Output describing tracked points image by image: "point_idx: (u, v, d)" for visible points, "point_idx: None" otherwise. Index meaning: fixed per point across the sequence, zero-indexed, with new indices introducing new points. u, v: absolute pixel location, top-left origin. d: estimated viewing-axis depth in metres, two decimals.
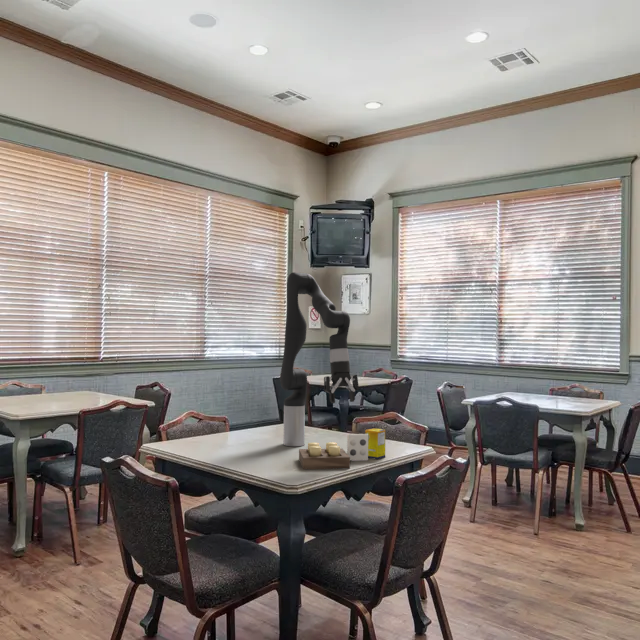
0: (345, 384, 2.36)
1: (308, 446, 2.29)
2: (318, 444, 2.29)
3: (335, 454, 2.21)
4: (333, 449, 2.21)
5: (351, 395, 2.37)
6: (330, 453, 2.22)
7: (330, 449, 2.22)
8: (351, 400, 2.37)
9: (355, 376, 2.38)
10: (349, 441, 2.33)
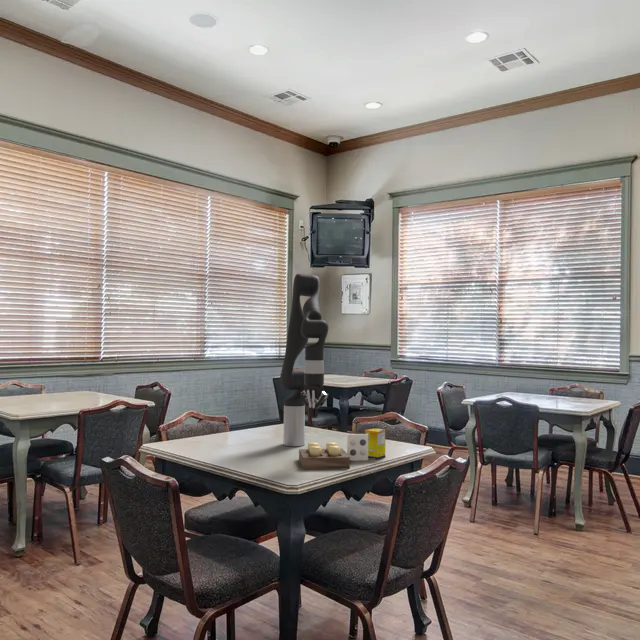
0: (311, 395, 2.29)
1: (308, 446, 2.29)
2: (318, 444, 2.29)
3: (335, 454, 2.21)
4: (333, 449, 2.21)
5: None
6: (330, 453, 2.22)
7: (330, 449, 2.22)
8: None
9: (323, 395, 2.26)
10: (349, 441, 2.33)
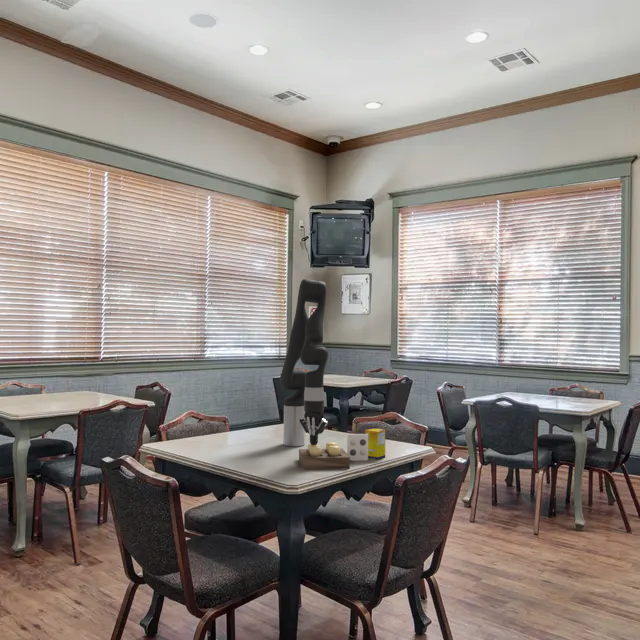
0: (311, 422, 2.29)
1: (308, 447, 2.29)
2: (318, 445, 2.29)
3: (335, 454, 2.21)
4: (333, 449, 2.21)
5: None
6: (330, 453, 2.22)
7: (330, 449, 2.22)
8: None
9: (323, 422, 2.26)
10: (349, 441, 2.33)
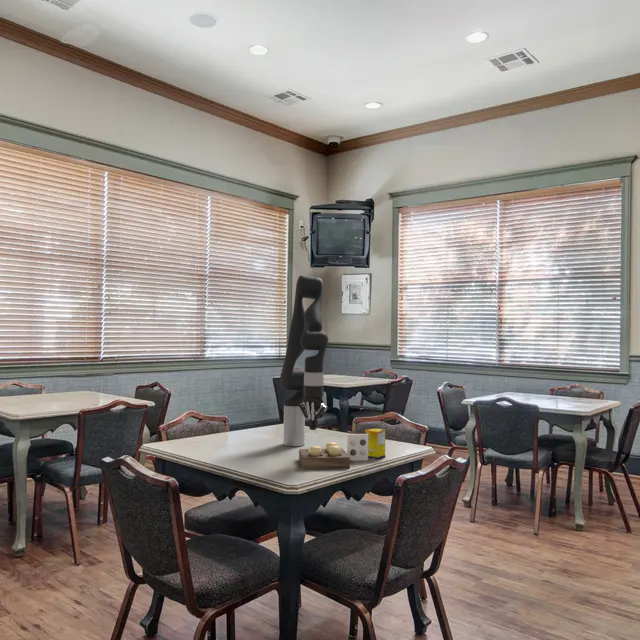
0: (311, 407, 2.29)
1: None
2: None
3: (335, 454, 2.21)
4: (333, 449, 2.21)
5: None
6: (330, 453, 2.22)
7: (330, 449, 2.22)
8: None
9: (322, 407, 2.26)
10: (349, 441, 2.33)
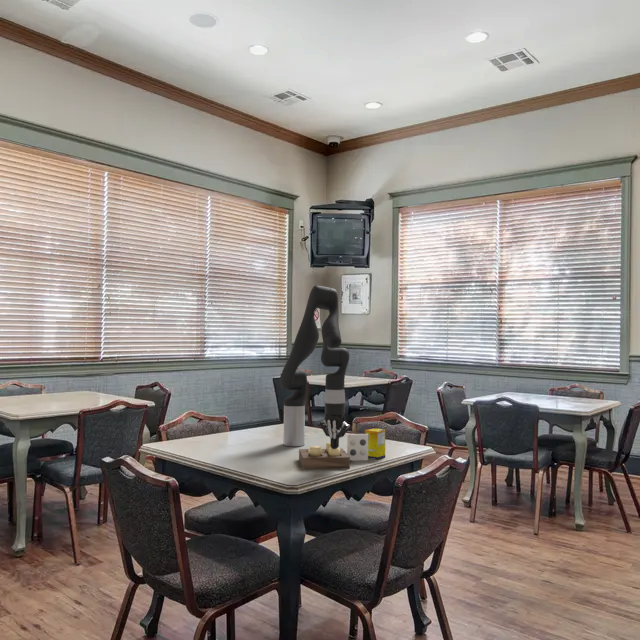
0: (332, 425, 2.23)
1: None
2: None
3: None
4: (333, 451, 2.21)
5: None
6: (330, 455, 2.22)
7: (330, 451, 2.22)
8: None
9: (344, 426, 2.20)
10: (349, 441, 2.33)
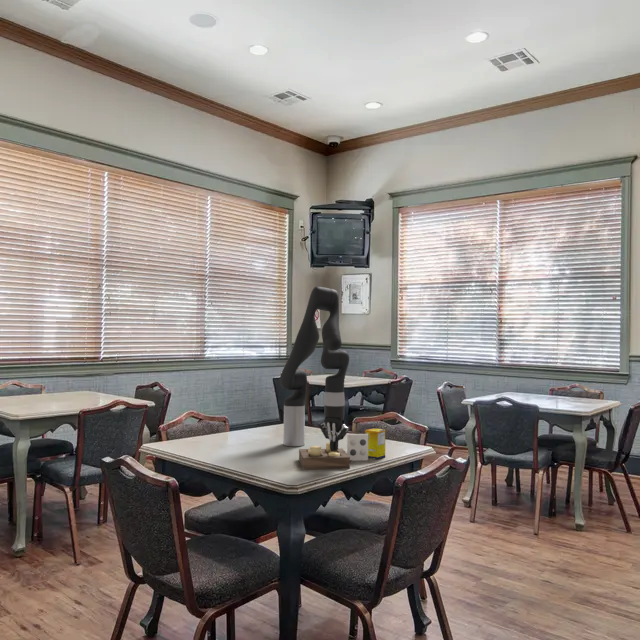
0: (332, 428, 2.23)
1: None
2: None
3: None
4: None
5: None
6: None
7: None
8: None
9: (344, 428, 2.20)
10: (349, 441, 2.33)
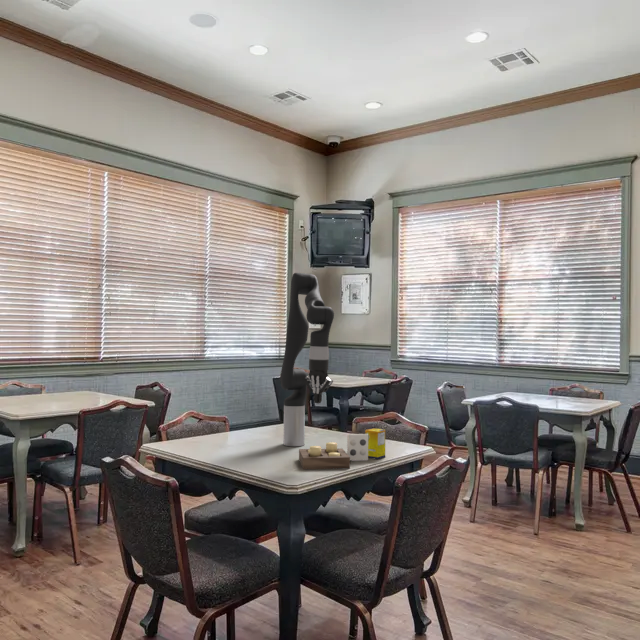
0: (316, 381, 2.32)
1: None
2: None
3: None
4: None
5: None
6: None
7: None
8: None
9: (327, 381, 2.28)
10: (349, 441, 2.33)
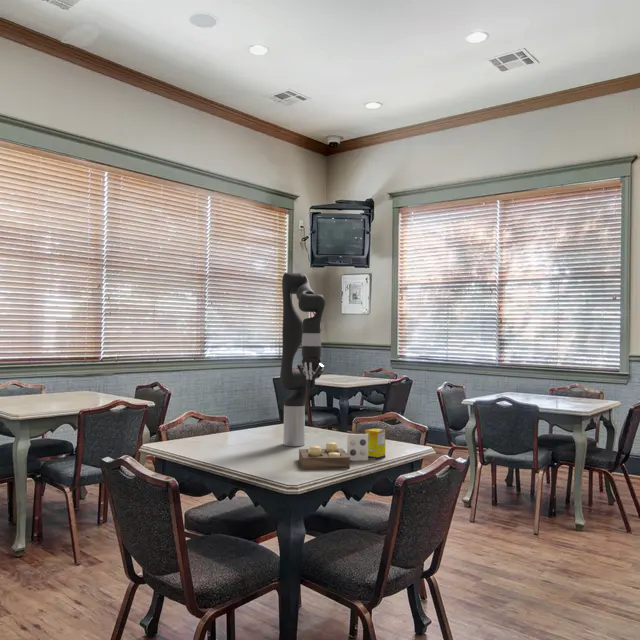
0: (309, 367, 2.35)
1: None
2: None
3: None
4: None
5: None
6: None
7: None
8: None
9: (320, 367, 2.32)
10: (349, 441, 2.33)
